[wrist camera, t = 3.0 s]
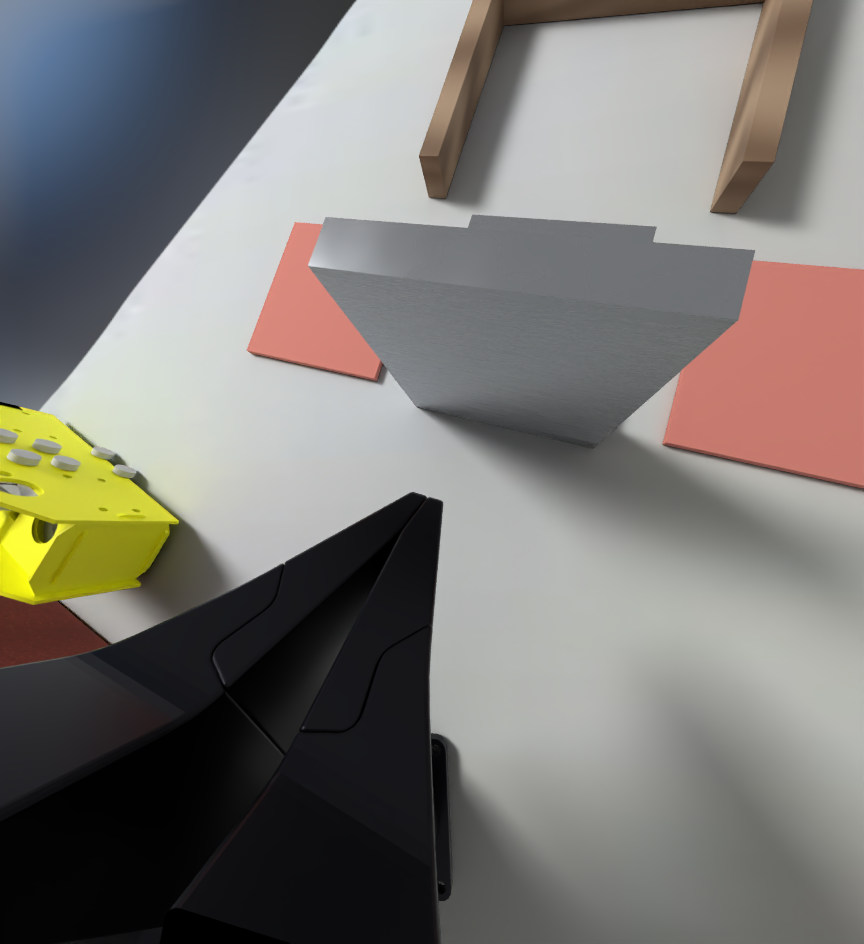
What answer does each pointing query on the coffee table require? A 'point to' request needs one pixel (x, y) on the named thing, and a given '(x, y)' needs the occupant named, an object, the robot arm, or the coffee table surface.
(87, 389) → the coffee table surface
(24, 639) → the plant pot
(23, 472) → the yellow toy chassis
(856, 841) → the coffee table surface
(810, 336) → the mat
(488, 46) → the walnut corral
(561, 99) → the coffee table surface
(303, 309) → the mat
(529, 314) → the grey bookend
